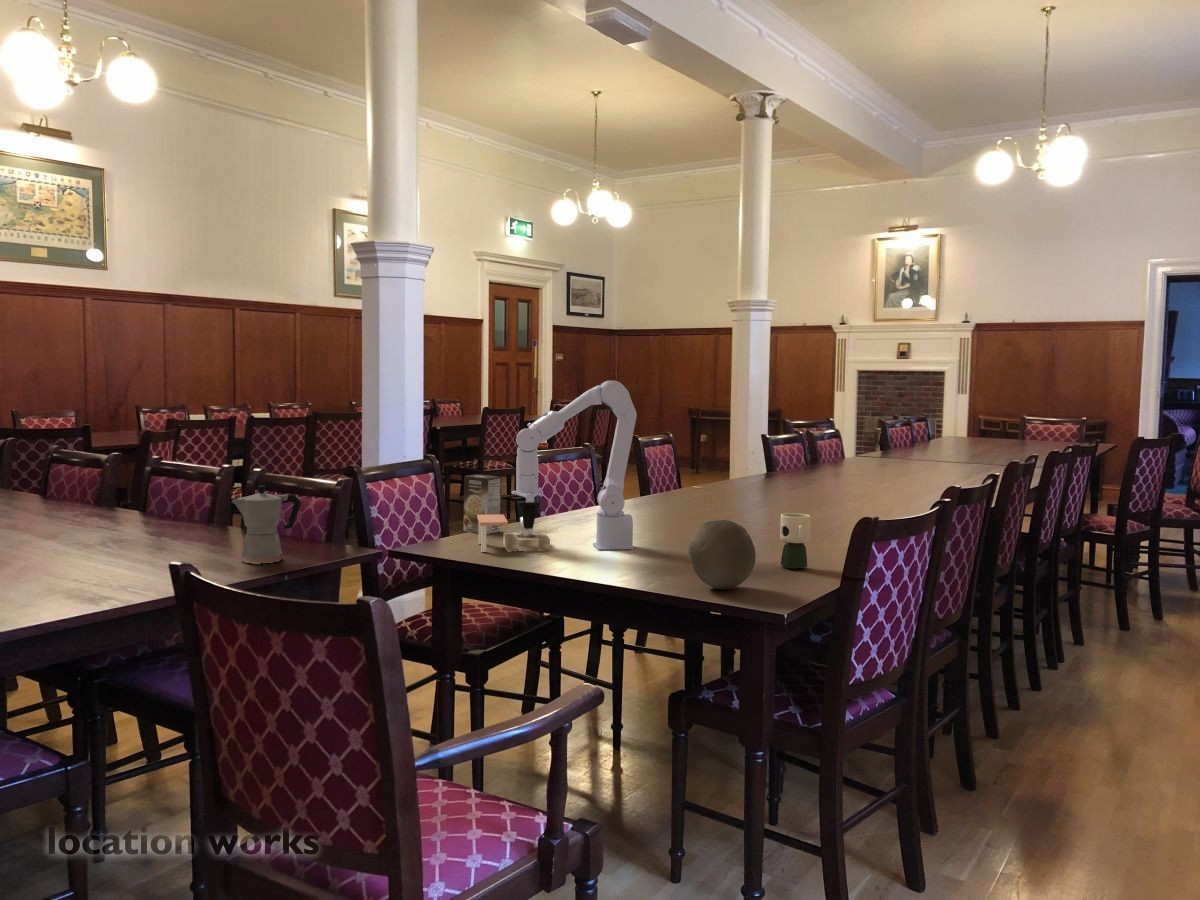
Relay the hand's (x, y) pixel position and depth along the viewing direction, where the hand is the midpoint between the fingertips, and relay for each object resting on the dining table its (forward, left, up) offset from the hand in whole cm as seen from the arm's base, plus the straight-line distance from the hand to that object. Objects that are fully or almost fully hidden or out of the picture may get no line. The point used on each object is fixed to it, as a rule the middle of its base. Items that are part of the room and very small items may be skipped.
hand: (526, 526), depth 239 cm
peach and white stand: (+9, 0, -6) cm, 11 cm away
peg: (0, 0, -6) cm, 6 cm away
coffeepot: (+63, +11, -6) cm, 64 cm away
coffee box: (+10, -26, -6) cm, 28 cm away
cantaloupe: (-36, +52, -6) cm, 63 cm away
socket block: (0, 0, -6) cm, 6 cm away
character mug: (-61, +32, -6) cm, 69 cm away
